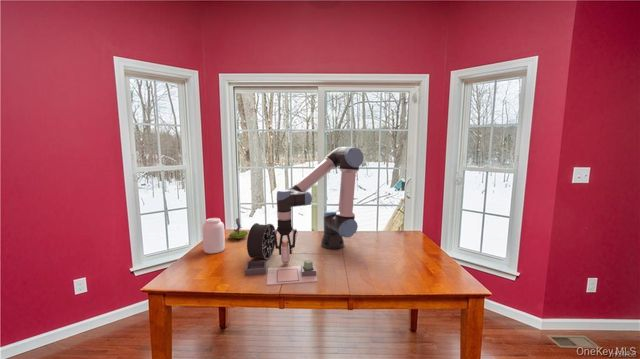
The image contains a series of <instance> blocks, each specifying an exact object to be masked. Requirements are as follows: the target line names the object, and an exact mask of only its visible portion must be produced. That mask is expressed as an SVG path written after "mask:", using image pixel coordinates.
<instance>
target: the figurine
mask: <svg viewBox="0 0 640 359" xmlns="http://www.w3.org/2000/svg"><path fill="white" fill-rule="evenodd" d="M235 223H236V225H237V228H236V229H233V231H234V232H233V231H232V232H230V233H229V235H228V237H230V238H231V239H232V238H234V239H235V240H236V239H237V240H239V239H242V238H244V237H246V236H248V234H249V232H248V231H247V230H240V229H242V227H241V223H240V217H239V218H236V219H235Z"/></svg>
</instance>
